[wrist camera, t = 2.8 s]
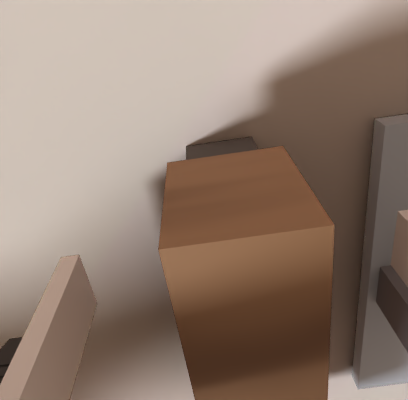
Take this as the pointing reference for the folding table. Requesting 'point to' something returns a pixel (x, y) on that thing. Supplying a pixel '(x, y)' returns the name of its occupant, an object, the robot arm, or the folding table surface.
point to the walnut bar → (249, 276)
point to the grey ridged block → (383, 264)
